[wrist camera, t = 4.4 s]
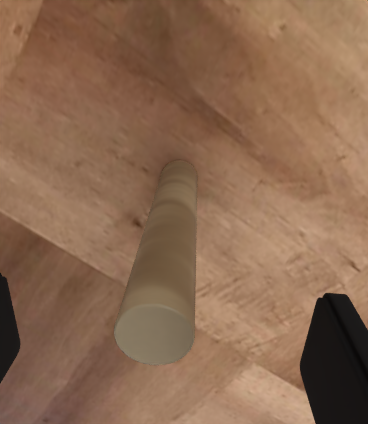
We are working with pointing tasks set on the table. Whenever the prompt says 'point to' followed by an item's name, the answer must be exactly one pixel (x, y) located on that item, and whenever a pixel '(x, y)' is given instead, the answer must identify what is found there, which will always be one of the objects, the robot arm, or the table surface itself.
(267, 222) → the table surface
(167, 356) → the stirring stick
